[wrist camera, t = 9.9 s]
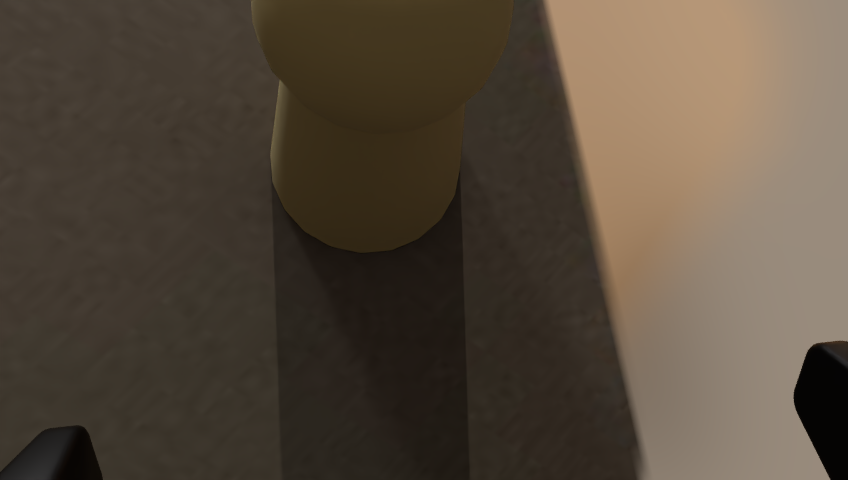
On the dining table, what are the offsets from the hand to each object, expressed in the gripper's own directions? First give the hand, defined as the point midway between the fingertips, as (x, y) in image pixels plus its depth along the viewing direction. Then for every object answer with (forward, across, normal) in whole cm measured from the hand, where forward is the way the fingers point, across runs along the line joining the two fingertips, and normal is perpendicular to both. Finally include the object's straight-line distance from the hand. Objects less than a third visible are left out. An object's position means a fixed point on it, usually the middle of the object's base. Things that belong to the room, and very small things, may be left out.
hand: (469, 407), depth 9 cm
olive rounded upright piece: (+16, 0, +4) cm, 16 cm away
